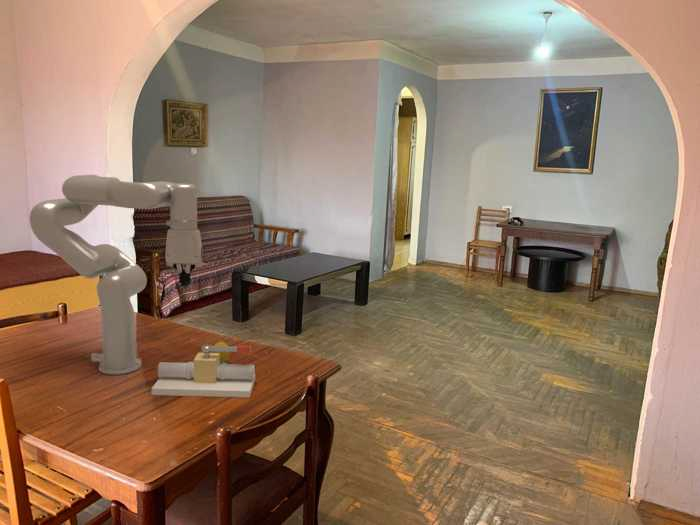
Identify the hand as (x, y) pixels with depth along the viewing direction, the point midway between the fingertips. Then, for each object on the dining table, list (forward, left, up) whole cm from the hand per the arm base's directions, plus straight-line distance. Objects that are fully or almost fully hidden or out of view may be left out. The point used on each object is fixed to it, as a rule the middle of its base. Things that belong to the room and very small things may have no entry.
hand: (185, 285), depth 163 cm
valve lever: (+14, -7, -18) cm, 24 cm away
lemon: (+9, +9, -29) cm, 32 cm away
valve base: (+8, -9, -29) cm, 31 cm away
